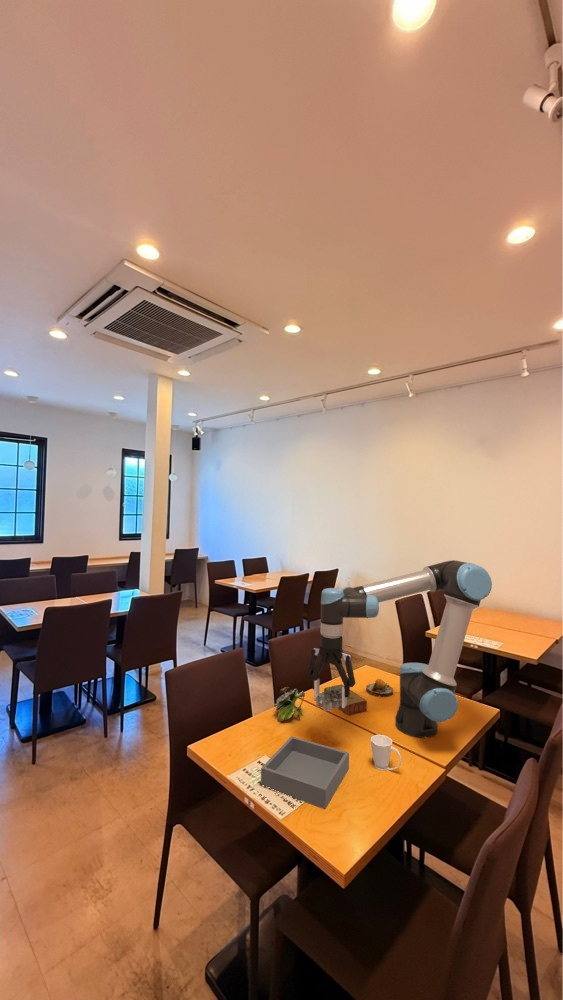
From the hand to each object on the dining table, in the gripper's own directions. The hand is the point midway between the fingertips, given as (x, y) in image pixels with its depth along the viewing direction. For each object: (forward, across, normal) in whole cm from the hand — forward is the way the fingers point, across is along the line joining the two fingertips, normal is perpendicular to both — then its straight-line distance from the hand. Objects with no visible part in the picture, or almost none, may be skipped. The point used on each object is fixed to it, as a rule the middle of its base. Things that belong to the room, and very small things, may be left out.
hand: (330, 702), depth 137 cm
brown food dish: (+16, -2, -56) cm, 58 cm away
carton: (+16, +8, -36) cm, 40 cm away
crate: (+16, +1, +16) cm, 23 cm away
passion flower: (+16, +22, -15) cm, 32 cm away
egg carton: (+1, 0, 0) cm, 1 cm away
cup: (+16, -19, 0) cm, 25 cm away
